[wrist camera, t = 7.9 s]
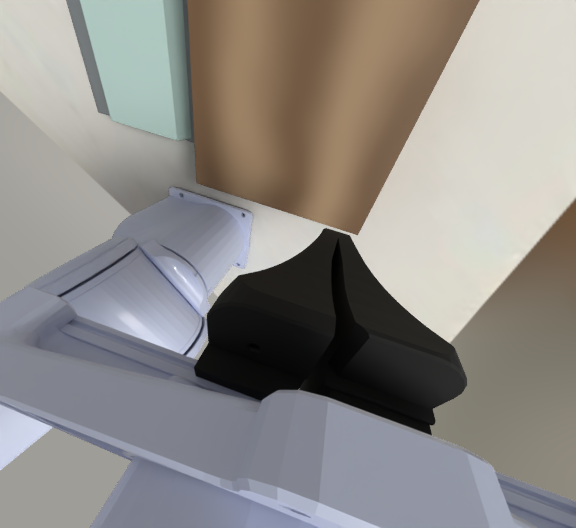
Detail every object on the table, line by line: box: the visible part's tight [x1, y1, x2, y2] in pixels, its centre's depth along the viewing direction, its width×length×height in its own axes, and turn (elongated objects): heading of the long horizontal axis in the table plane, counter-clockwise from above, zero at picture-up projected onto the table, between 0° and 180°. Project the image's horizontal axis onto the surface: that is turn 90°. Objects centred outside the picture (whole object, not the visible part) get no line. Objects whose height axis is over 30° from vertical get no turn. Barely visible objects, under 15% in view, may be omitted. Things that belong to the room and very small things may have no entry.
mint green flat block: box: [80, 0, 191, 141], centre depth 16 cm, size 6×9×2 cm, turn 167°
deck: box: [187, 0, 479, 235], centre depth 14 cm, size 14×14×4 cm
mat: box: [66, 0, 195, 142], centre depth 16 cm, size 12×10×1 cm
